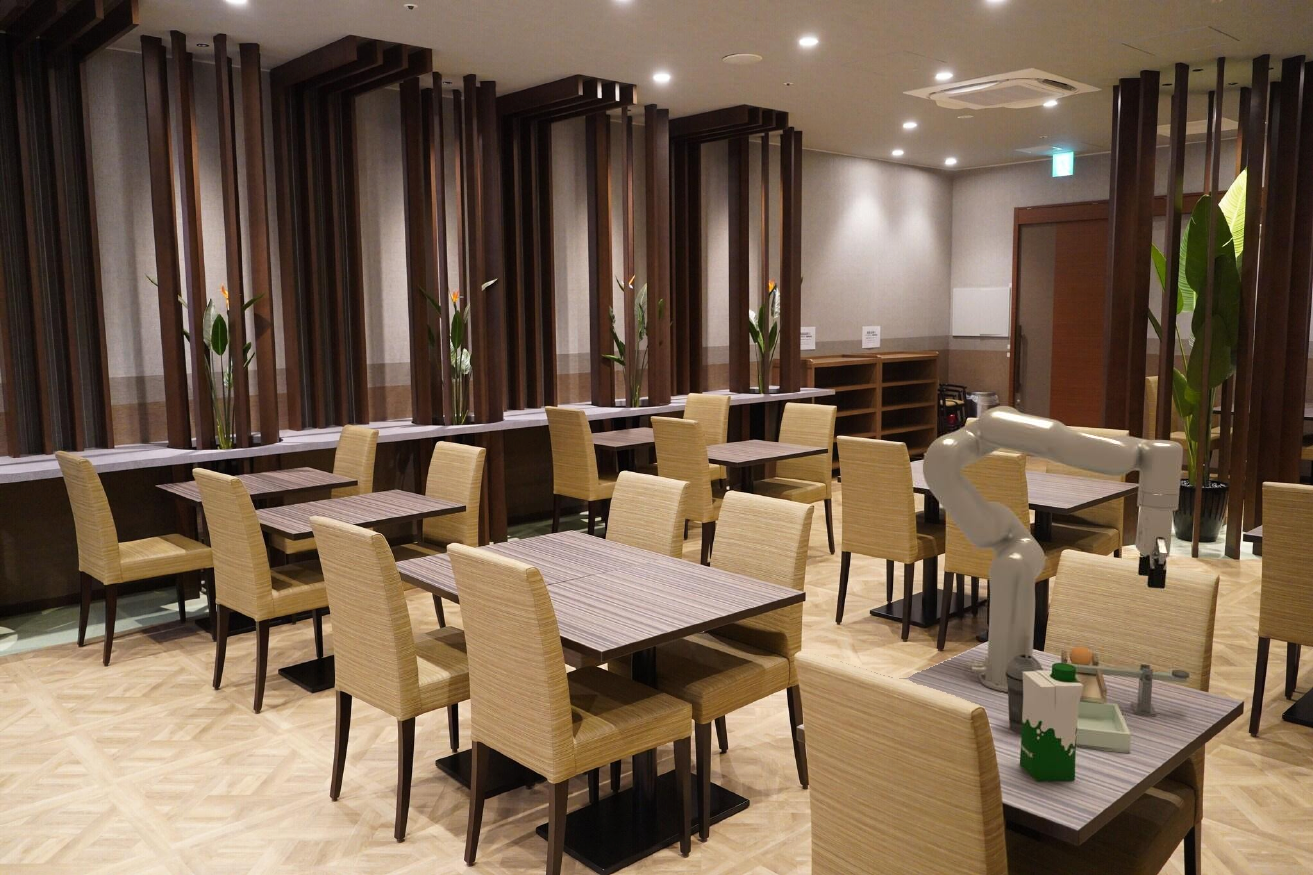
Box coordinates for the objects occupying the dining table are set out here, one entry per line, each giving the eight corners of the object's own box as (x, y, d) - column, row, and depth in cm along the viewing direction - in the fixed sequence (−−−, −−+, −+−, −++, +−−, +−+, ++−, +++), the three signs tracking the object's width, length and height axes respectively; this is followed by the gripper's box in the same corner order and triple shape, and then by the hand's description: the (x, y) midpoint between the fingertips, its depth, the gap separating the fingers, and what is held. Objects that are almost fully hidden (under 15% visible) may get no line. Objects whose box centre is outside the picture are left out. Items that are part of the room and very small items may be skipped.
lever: (1062, 671, 210) (1062, 663, 210) (1060, 666, 213) (1061, 658, 213) (1190, 684, 203) (1191, 676, 203) (1186, 679, 206) (1187, 670, 206)
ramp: (1067, 720, 202) (1070, 675, 201) (1059, 691, 218) (1061, 649, 217) (1104, 724, 201) (1107, 679, 199) (1093, 695, 216) (1096, 652, 215)
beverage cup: (1035, 723, 201) (1040, 629, 198) (1045, 738, 194) (1051, 641, 191) (998, 721, 202) (1003, 627, 199) (1007, 737, 194) (1012, 639, 192)
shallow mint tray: (1061, 745, 191) (1063, 726, 190) (1053, 714, 205) (1054, 697, 205) (1129, 753, 188) (1130, 734, 187) (1116, 721, 202) (1117, 704, 202)
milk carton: (1082, 782, 176) (1089, 675, 173) (1033, 784, 175) (1039, 676, 172) (1058, 760, 184) (1064, 657, 182) (1011, 762, 184) (1017, 659, 181)
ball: (1069, 670, 213) (1071, 654, 210) (1067, 656, 216) (1069, 641, 214) (1091, 672, 211) (1093, 657, 209) (1089, 658, 215) (1091, 643, 213)
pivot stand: (1135, 714, 206) (1138, 670, 205) (1130, 704, 211) (1133, 661, 210) (1156, 716, 205) (1159, 672, 204) (1151, 707, 210) (1154, 663, 209)
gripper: (1130, 491, 211) (1123, 569, 214) (1146, 507, 195) (1139, 591, 197) (1168, 494, 209) (1161, 572, 212) (1188, 509, 193) (1180, 594, 195)
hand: (1151, 581), depth 204 cm, fingers open, 9 cm apart
